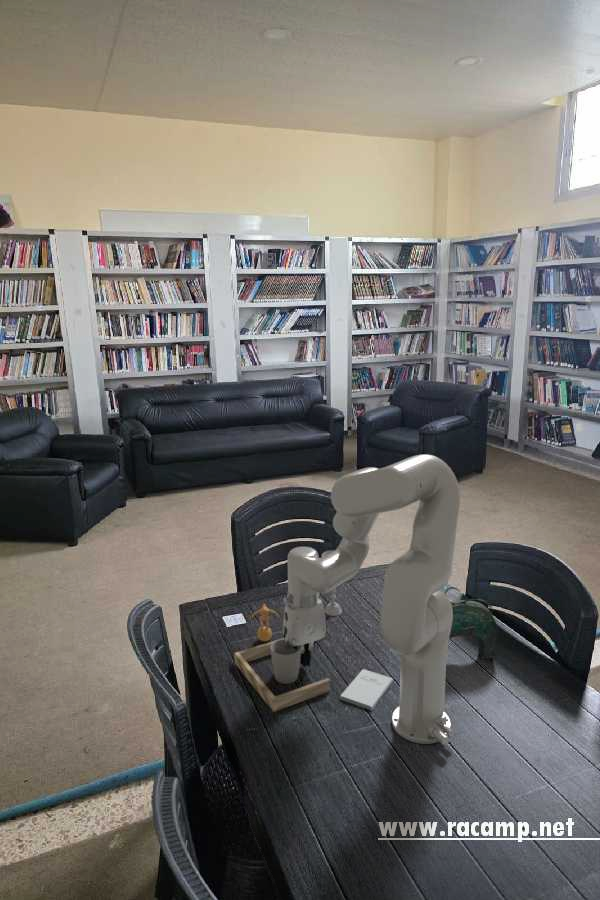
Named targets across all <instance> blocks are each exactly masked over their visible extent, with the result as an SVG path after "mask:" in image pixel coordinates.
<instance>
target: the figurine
mask: <svg viewBox="0 0 600 900" xmlns="http://www.w3.org/2000/svg"><path fill="white" fill-rule="evenodd" d="M269 613H272V614H275V615H276V616H277V618H279V619H281V617H280V615H279V614H278V613H277V612H276V611H275V610H273V609H270V608H268V606H267V605H266V604H265V603H263V604H262V606H261V608H260V609H258V610H257V611H255V612H253V613H252V614H251V615H250V617H249V619H248V621H250V620H251V619H252V618H253V617H254V616H255V615H257V614H260V615H261V616H259V618H258V619H259V622H260V623H259V624H260V627H259V628H258V630H257V633H256V634H257V635H256V636H257V638H258V640H260V642H266V643H267V642H268V641H270V640H271V639H272V636H273V631H272V629H271V628H270V627H269V625H270V622H269V621H270V616H269V615H268V614H269ZM263 621H266V623H265V625H266V626H265V625H264V623H263ZM263 625H264V626H263Z"/></svg>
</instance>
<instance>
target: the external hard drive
mask: <svg viewBox="0 0 600 900" xmlns="http://www.w3.org/2000/svg"><path fill="white" fill-rule="evenodd" d="M393 682H394V678H392V677H389V676H387V675H383V674H381V673H377V672H374V671H370V670H368V669H361V671H360V672H359V673H358V674H357V675H356V676H355V678H354V679H353V680H352V681H351V682H350V684H349V685H348V686H347V687H346V688H345V689H344V690H343V692H342V693H341V694H340V696H339V700H341V701H343V702H346V703H349V704H352V705H355V706H357V707H360V708H363V709H366V710H369V711H373V710H374V709H375V707H376V706H377V704H379V702H380V700H381V699H382V697H384V695H385V693H386V692H387V691H388V689H389V688H390V687H391V685H392V683H393Z"/></svg>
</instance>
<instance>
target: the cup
mask: <svg viewBox="0 0 600 900" xmlns="http://www.w3.org/2000/svg"><path fill="white" fill-rule="evenodd" d="M279 639H280V640H279ZM279 639H276V640H277V641H275V640H274V641H275V642H273V643H272V645H271V647H270V649H271V662H272V669H273V674H274V679H275V680H276V681H277V682H278V683H280V684H283V685H284V684H285V685H289V684H290V685H291V684H293V683H295V682H296V681H297V680H298V678H299V674H300V666H301V665H300V664H301V663H300V658H301V647H302V646H301V645H300V646H298V647H297V650H296V649H295V648H293V649H286V648H285V646H284V642H285V639H282V638H279Z"/></svg>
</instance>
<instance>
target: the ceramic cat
mask: <svg viewBox="0 0 600 900" xmlns="http://www.w3.org/2000/svg"><path fill="white" fill-rule="evenodd" d="M449 590H457V591H458V592H459V593H461V590H460V589H459V588H457V587H455V586H451V587H447V588H446V590H444V591H445V592H444V594H445V595H446V596H447V592H448V591H449ZM450 603H451V606H452V610H453V620H452V627H451V631H450V636H449V640H450V639H452V638H455V637H459V636H460V637H461V636H471V637H473V638H475V639H476V640H477V641H478V650H477V651H478V652H479V653H478V654H480V655H479V656H480V658H481V657H483V658H492V657H493V658H494V655H495V651H496V650H495V649H496V646H497V643H498V634H499V633H498V624H497V622H496V621H495V618H494V616H493V614H494V610H493V607H492V605H491V604H490V603H489V602H488V601H487V600H483V599H478V598H470V599H463V600H462V599H461V600H454V601H453V600H452V601H450ZM482 603H484V604H486V605H487V606H489V608H490V610H489V608H488V607H486V606H485V605H484V604H482ZM493 658H492V659H493Z"/></svg>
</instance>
